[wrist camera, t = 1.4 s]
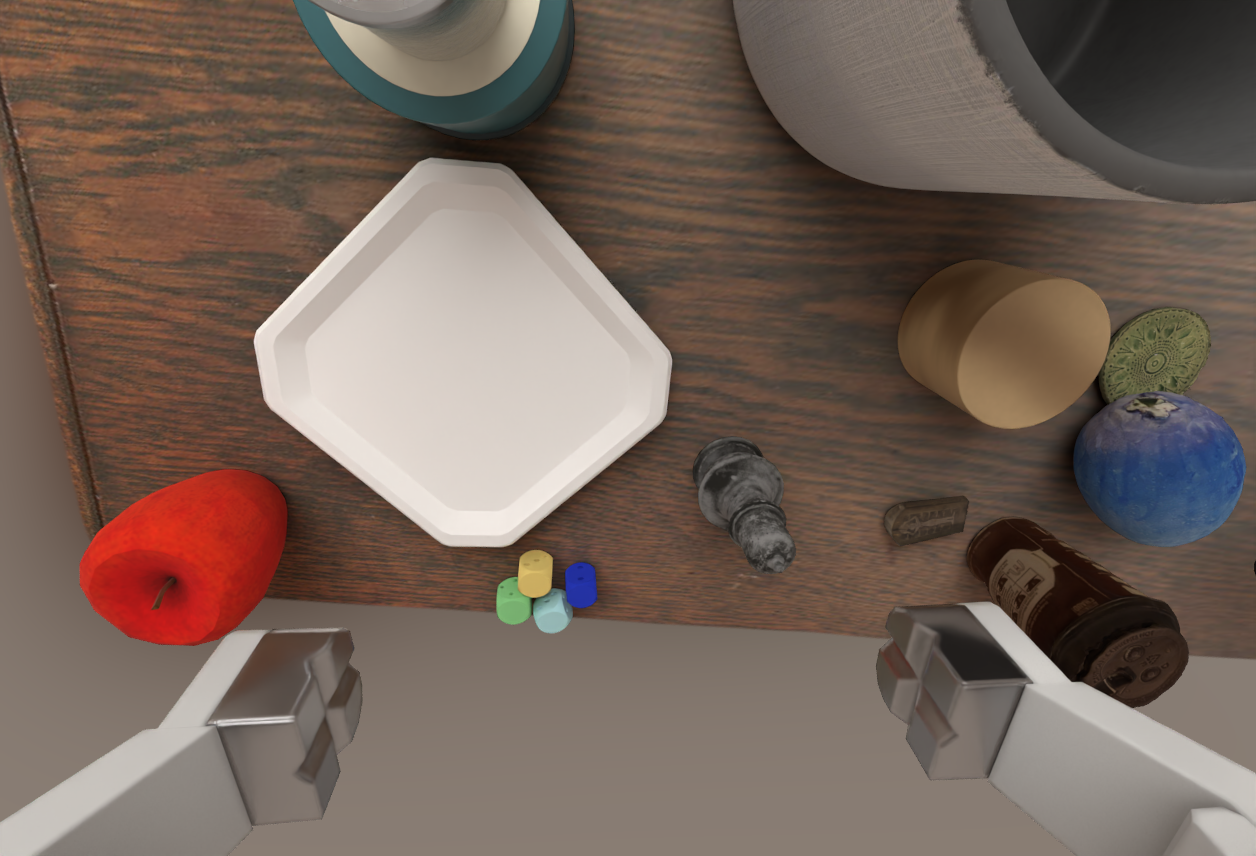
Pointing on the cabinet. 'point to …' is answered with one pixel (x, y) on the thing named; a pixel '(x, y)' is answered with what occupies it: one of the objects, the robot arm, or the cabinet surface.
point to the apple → (188, 558)
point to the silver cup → (423, 23)
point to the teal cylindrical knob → (458, 70)
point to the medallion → (1155, 332)
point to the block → (926, 519)
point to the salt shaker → (745, 501)
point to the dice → (545, 593)
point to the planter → (1017, 93)
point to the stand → (1004, 341)
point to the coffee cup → (1080, 612)
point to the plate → (464, 356)
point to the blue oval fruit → (1159, 468)
